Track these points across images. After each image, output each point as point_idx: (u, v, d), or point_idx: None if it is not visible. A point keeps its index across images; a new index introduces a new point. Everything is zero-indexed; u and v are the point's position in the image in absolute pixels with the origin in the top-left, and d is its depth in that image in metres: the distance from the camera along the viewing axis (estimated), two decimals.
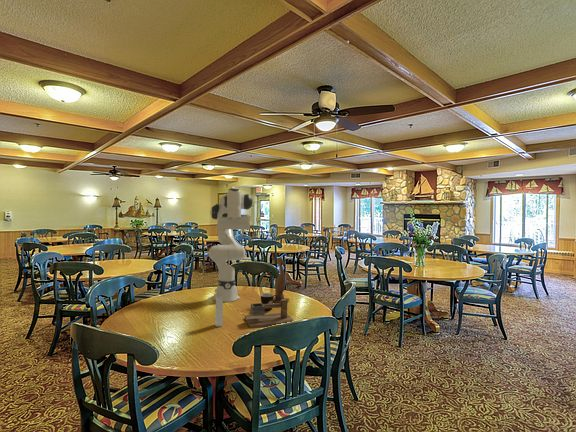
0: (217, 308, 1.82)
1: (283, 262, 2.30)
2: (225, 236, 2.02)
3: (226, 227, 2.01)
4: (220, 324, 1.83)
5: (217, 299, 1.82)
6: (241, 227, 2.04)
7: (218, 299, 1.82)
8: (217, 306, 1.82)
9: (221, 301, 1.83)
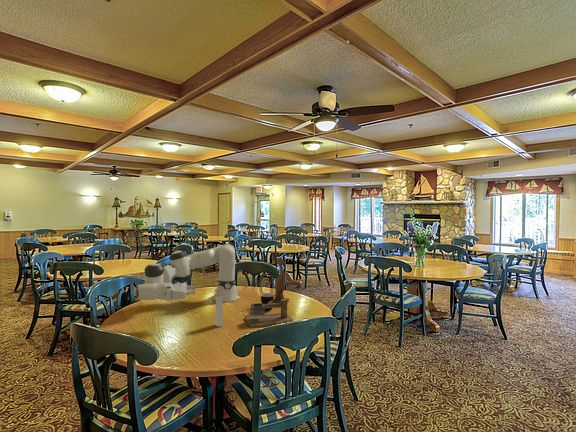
0: (217, 308, 1.82)
1: (283, 262, 2.30)
2: (194, 290, 1.76)
3: (183, 289, 1.74)
4: (220, 324, 1.83)
5: (217, 299, 1.82)
6: (184, 285, 1.83)
7: (218, 299, 1.82)
8: (217, 306, 1.82)
9: (221, 301, 1.83)
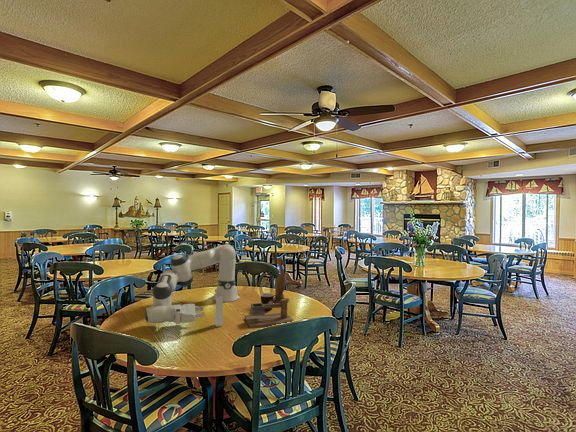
0: (217, 308, 1.82)
1: (283, 262, 2.30)
2: (203, 312, 1.77)
3: (193, 311, 1.75)
4: (220, 324, 1.83)
5: (217, 299, 1.82)
6: (192, 306, 1.84)
7: (218, 299, 1.82)
8: (217, 306, 1.82)
9: (221, 301, 1.83)
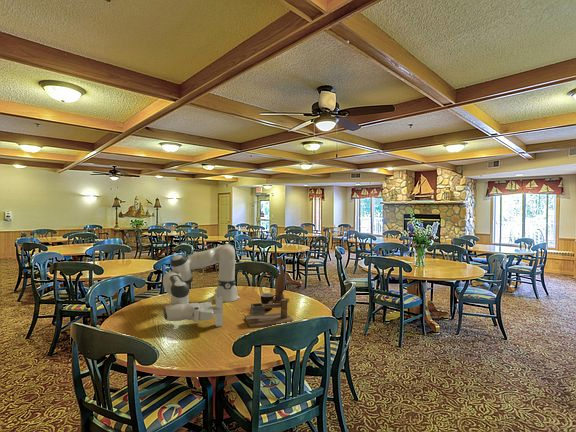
0: (217, 308, 1.82)
1: (283, 262, 2.30)
2: (220, 309, 1.82)
3: (210, 309, 1.78)
4: (220, 324, 1.83)
5: (217, 299, 1.82)
6: (209, 304, 1.87)
7: (218, 299, 1.82)
8: (217, 306, 1.82)
9: (221, 301, 1.83)
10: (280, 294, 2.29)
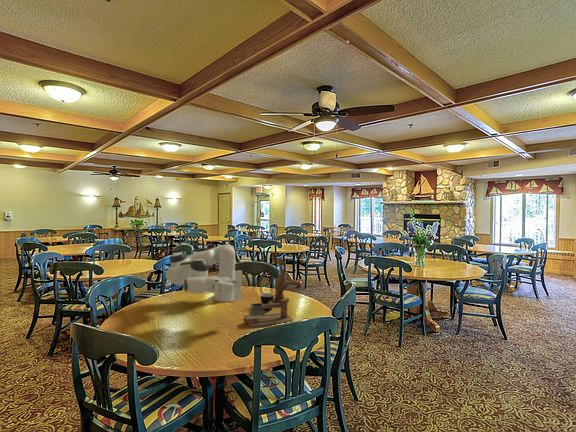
0: (236, 282, 1.83)
1: (283, 262, 2.30)
2: None
3: (230, 282, 1.80)
4: (239, 298, 1.84)
5: (236, 273, 1.83)
6: (228, 278, 1.88)
7: (237, 273, 1.83)
8: (236, 280, 1.83)
9: (241, 275, 1.84)
10: (280, 294, 2.29)
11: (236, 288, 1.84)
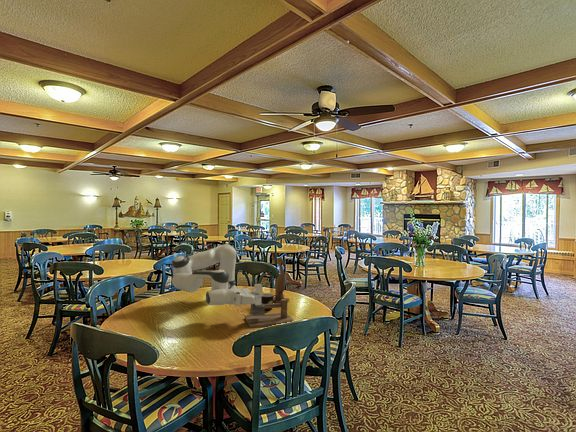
0: (256, 295, 1.89)
1: (283, 262, 2.30)
2: (260, 295, 1.87)
3: (250, 294, 1.85)
4: None
5: (256, 286, 1.88)
6: (248, 290, 1.93)
7: (257, 286, 1.89)
8: (256, 293, 1.89)
9: (260, 288, 1.89)
10: (280, 294, 2.29)
11: (256, 301, 1.89)
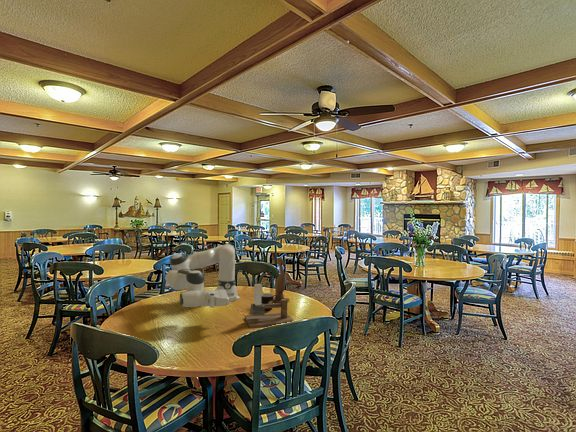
0: (256, 295, 1.89)
1: (283, 262, 2.30)
2: (236, 297, 1.82)
3: (225, 295, 1.81)
4: None
5: (256, 286, 1.88)
6: (224, 291, 1.89)
7: (257, 286, 1.89)
8: (256, 293, 1.89)
9: (260, 288, 1.89)
10: (280, 294, 2.29)
11: (256, 301, 1.89)
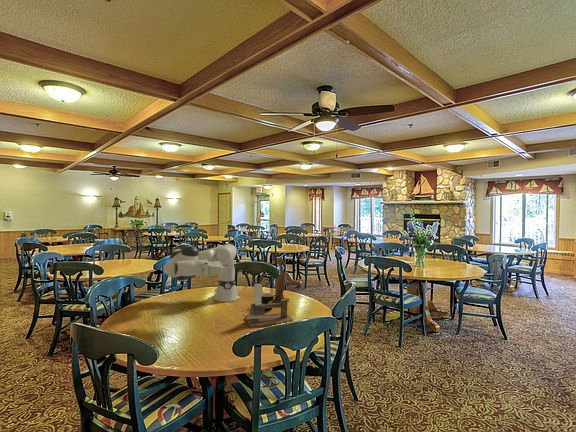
0: (256, 295, 1.89)
1: (283, 262, 2.30)
2: (230, 267, 1.85)
3: (219, 265, 1.84)
4: None
5: (256, 286, 1.88)
6: (218, 262, 1.93)
7: (257, 286, 1.89)
8: (256, 293, 1.89)
9: (260, 288, 1.89)
10: (280, 294, 2.29)
11: (256, 301, 1.89)
